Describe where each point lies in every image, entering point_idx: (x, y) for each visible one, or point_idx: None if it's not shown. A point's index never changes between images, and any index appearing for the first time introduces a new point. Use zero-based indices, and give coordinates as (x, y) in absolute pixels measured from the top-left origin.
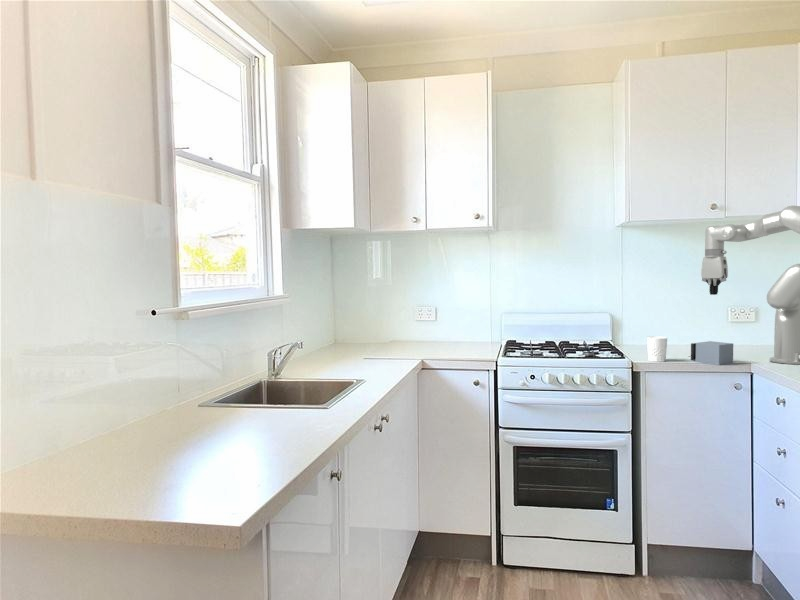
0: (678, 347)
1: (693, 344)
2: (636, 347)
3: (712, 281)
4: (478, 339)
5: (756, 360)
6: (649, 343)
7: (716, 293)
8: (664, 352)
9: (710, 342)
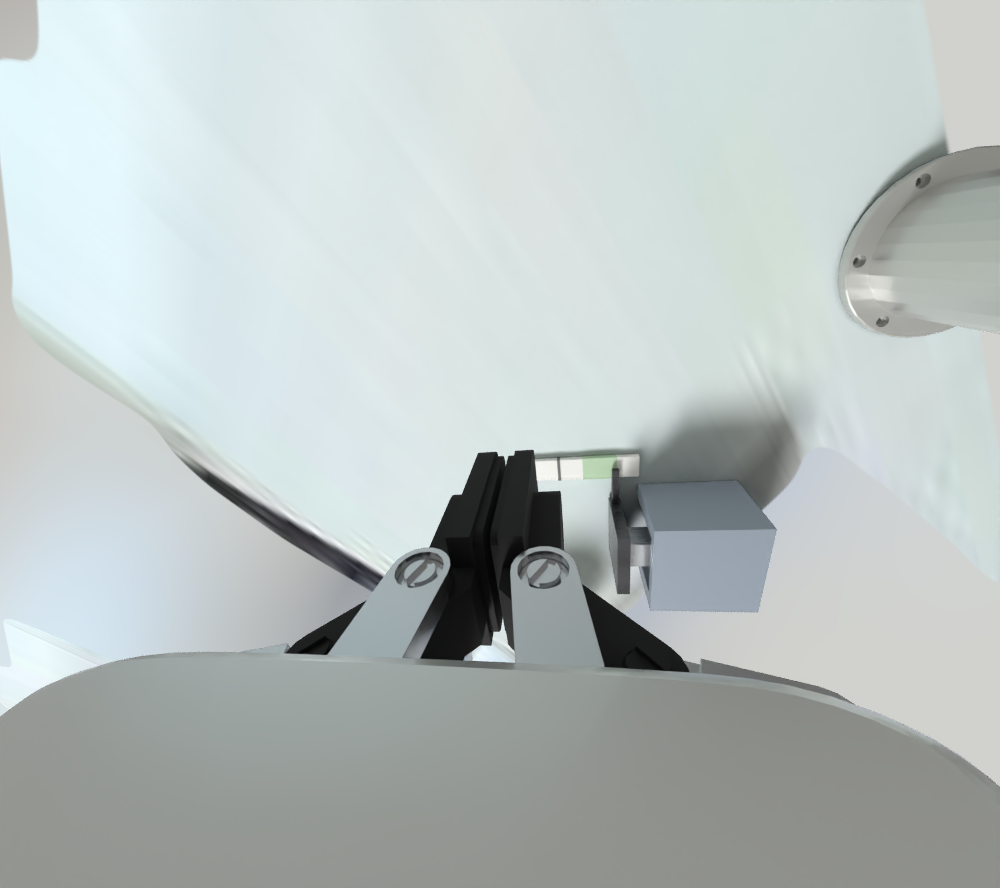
0: (288, 259)
1: (627, 591)
2: (252, 428)
3: (403, 646)
4: (21, 647)
5: (779, 334)
6: None
7: (535, 476)
8: None
9: (682, 565)
